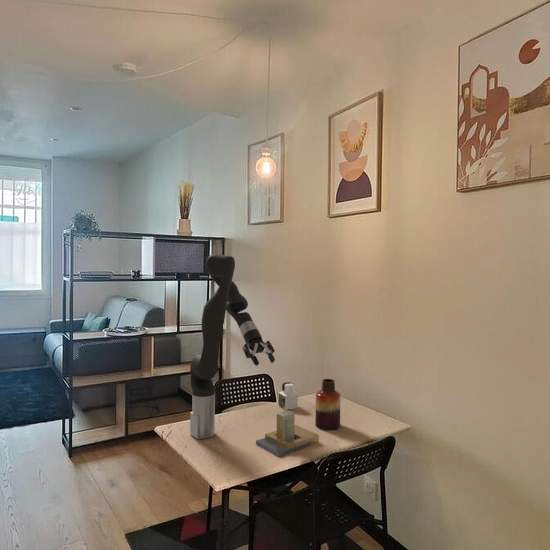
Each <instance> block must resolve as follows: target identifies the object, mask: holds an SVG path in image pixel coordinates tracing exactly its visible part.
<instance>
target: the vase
mask: <svg viewBox="0 0 550 550" xmlns="http://www.w3.org/2000/svg"><path fill="white" fill-rule="evenodd" d="M335 381H336V380H334V379H332V378H323V379H322V382H321V389H320V390H318V391H316V393H315V423H314V424H315V427H316V428H317V429H318V430H319V429H320V430H321V431H322V430H323V431H327V432H328V431H330V432H331V431H337V430H339V429H340V427H341V398H342V397H341V393H340V392H339V391H337V390H336V384H335V383H336V382H335Z"/></svg>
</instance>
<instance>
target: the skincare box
mask: <svg viewBox="0 0 550 550" xmlns="http://www.w3.org/2000/svg"><path fill="white" fill-rule="evenodd" d="M294 425H295V412H292V411H291V410H284V411H281V412H277V413H276V431H277V436H278V437H280V438H282V439H284V440H285V441H287V442H290V441H293V440H295V429H294Z"/></svg>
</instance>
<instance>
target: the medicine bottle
mask: <svg viewBox="0 0 550 550" xmlns="http://www.w3.org/2000/svg"><path fill="white" fill-rule="evenodd" d="M298 398H299V397H298V393H297V392H295V384H294V383H293V382H290V381H289V382H288V381H287V382H283V383H282V384H281V391H279V392H278V407H280V408H281V409H282V408H283V409H282V410H284V411H287V410H288V409H290V410H297V409H298V400H299V399H298ZM288 411H289V410H288Z"/></svg>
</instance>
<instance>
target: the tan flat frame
mask: <svg viewBox="0 0 550 550" xmlns="http://www.w3.org/2000/svg"><path fill="white" fill-rule="evenodd" d="M294 429H295V440H293V441H290V442H287V441H285V440H284V439H282V438H280V437H278V436H277V430H274V431H273V430H272V431H270V432H267V433H265V434H264V437H262V438H260V439H257V440H255V445H256V446H259V448H261V449H263V448H264V450H266V451H268V452H269V453H270V454H272V453H273V455H274V454H275V455H274V456H276V457H279V456H280V457H282V455H283V456H285V454H286V455H288V454H291V453H293V452H296V451H298V450H302V449H305V448H307V446H308V447H310V446H314V445H315V443H316V444H318V442H319V443H320V441H319V440H320V436H319V435H320V434H318V433H315V432H313V431H310V430H308V429H306V428H304V427H303V426H299V425H297V424H294ZM280 457H279V458H280Z"/></svg>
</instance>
